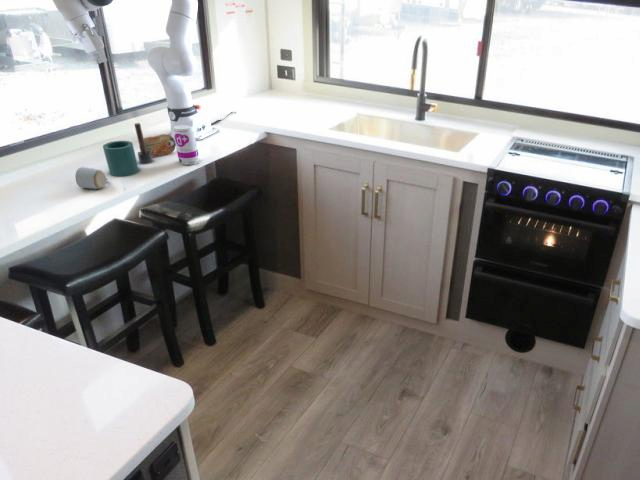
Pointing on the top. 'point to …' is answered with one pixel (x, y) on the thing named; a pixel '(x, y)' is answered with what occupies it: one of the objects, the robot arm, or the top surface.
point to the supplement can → (186, 144)
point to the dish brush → (142, 146)
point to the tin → (159, 145)
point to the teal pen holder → (120, 158)
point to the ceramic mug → (90, 178)
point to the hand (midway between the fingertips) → (102, 62)
